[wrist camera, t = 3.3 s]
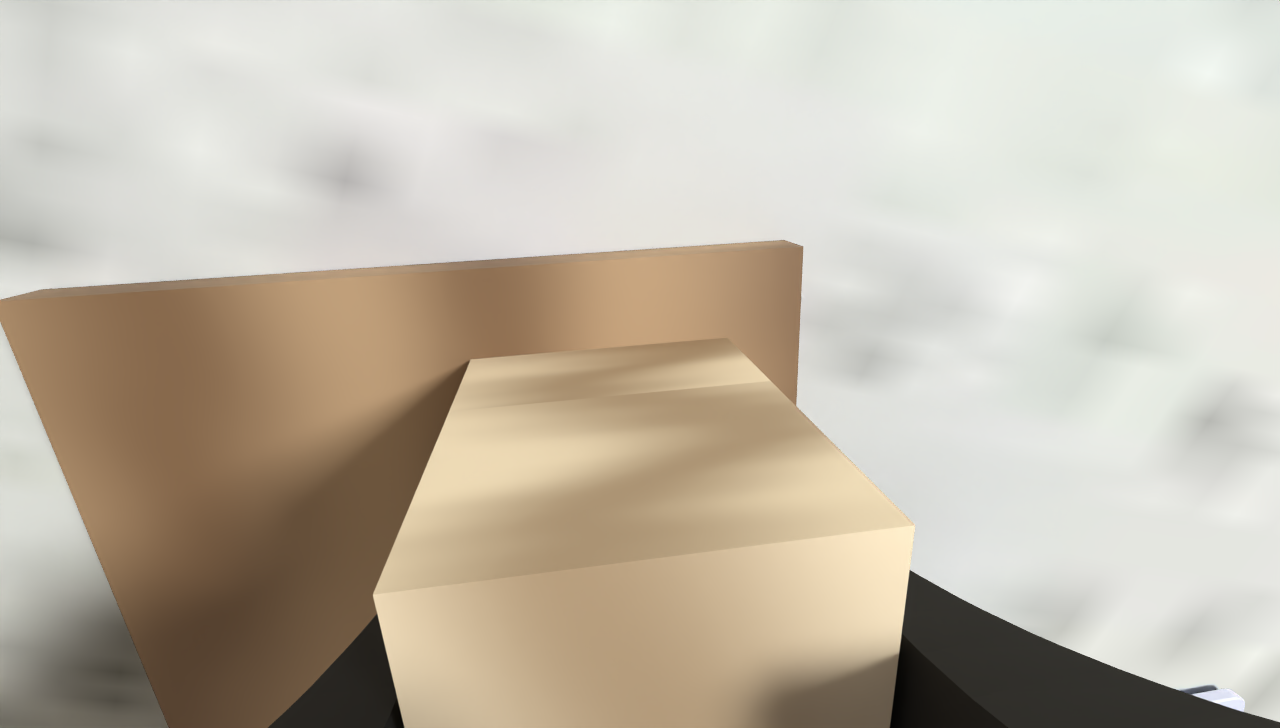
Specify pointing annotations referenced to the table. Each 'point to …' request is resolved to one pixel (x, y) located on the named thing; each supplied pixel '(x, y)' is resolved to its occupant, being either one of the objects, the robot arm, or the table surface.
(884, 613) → the slotted block
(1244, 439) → the table surface
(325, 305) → the board
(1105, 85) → the table surface
